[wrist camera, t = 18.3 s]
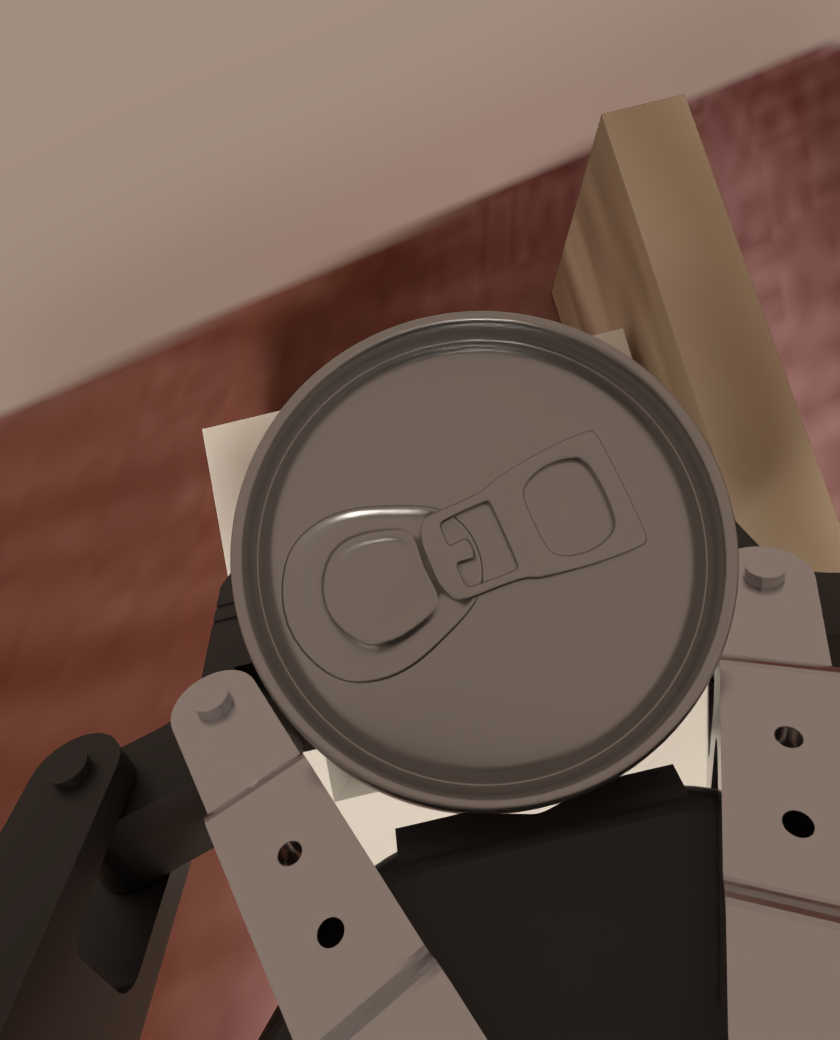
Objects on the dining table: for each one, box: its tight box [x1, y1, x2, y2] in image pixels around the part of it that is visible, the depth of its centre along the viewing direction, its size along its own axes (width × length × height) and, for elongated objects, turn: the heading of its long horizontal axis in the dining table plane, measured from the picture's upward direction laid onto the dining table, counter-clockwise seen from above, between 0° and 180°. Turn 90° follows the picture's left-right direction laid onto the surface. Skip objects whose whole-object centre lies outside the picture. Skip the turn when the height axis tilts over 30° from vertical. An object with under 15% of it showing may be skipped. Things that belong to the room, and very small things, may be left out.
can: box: [230, 311, 739, 814], centre depth 13 cm, size 6×6×12 cm
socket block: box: [202, 328, 707, 865], centre depth 18 cm, size 11×11×6 cm
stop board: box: [552, 94, 840, 573], centre depth 17 cm, size 2×20×8 cm, turn 13°
